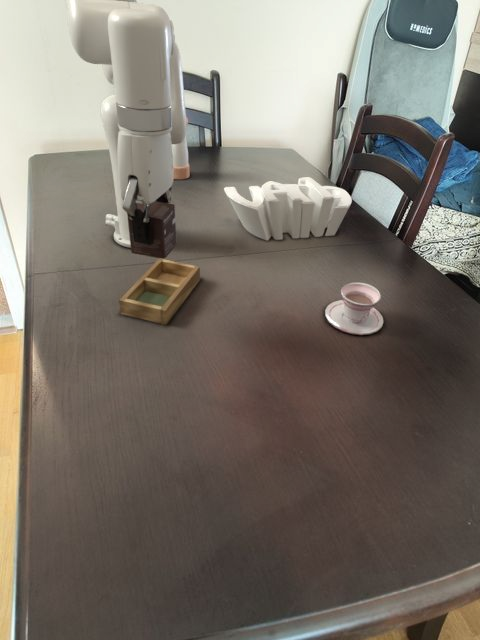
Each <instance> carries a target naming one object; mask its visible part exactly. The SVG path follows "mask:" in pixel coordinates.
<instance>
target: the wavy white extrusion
mask: <svg viewBox="0 0 480 640" xmlns="http://www.w3.org/2000/svg"><path fill="white" fill-rule="evenodd" d="M248 189H249V193H250V196H251V200H252V201H251V200H248V199H246V198H245V197H243V196H242V195H241V194H240V193H238V190H237V188H236V187H235V186H225V187H223V190H224V193H225V195H226V197H227V199H228V200H229V202H230V204H231V206H232V208H233V210H234V212H235V214H236V215H237V217H238V220H239V221H240V222H241V225H242V226H243V227H244V229H245V230H246V231H247V232H249V233H250V234H252V235H253V236H255V237H257V238H259V239H261V240H264V241H267V242H268V241H269V240H270V239H271V237H272V238H273V239H274V240H275V241H276V240H277V241H278V240H279V241H280V240H283V239H284V237H283V236H284V235H283V233H286V234H287V233H288V234H289V235H290V236H291V238H292V239H307V238H309V237H310V232H311V234H312V235H313V237H314V238H319V237H324V236H325V237H331V236H332V237H333V236H335V235H336V233H337V232H338V230H339V229H340V227H341V224H342V222H343V220H344V218H345V216H346V214H347V213H348V210H349V209H350V207H351V204H352V202H353V199H352V196H351V195H350V194H349V192H347V191H346V190H345V189H344V188H342V187H337V186H333V185H321V184H320V183H318V182H317V181H315V180H314V179H313V178H312V177H310V176H307V177H306V176H305V177H304V176H303V177H300V178H298V181H297V183H284V184H283V183H280V182H277V181H274V180H269V181H266V182H265V183H264V184H262V185H261V187H260V186H259V185H250V186H248ZM325 229H326V231H325ZM324 233H325V234H324Z"/></svg>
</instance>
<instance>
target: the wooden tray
mask: <svg viewBox="0 0 480 640" xmlns="http://www.w3.org/2000/svg"><path fill="white" fill-rule="evenodd" d="M200 281H201V267H200V266H197V265H193V264H188V263H183V262H179V261H175V260H168V259H166V258H165V259H162V258H157V260H156V261H155V262H154V263H153V264H152V265H151V267H149V268H148V270H146V272H144V274H143V275H142V276H141V277H140V278H139V279H138V280H137V281H136V282H135V283H134V284H133V285H132V286H131V287H130V288H129V289H128V290H127V291H126V292H125V293H124V295H122V297H120V298H119V300H118V301H119V309H120V315H122V316H127V317H132V318H135V319H140V320H145V321H148V322H152V323H156V324H162V325H168V323H169V322H170V320H171V319H172V317H173V316H174V315H175V314H176V313H177V311H178V310H179V308H180V307H181V306H182V304H183V303H184V302H185V300H186V299H187V298H188V296H189V295H190V294H191V292H192V291H193V289H195V287H196V286H197V284H198V283H199V282H200Z"/></svg>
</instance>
